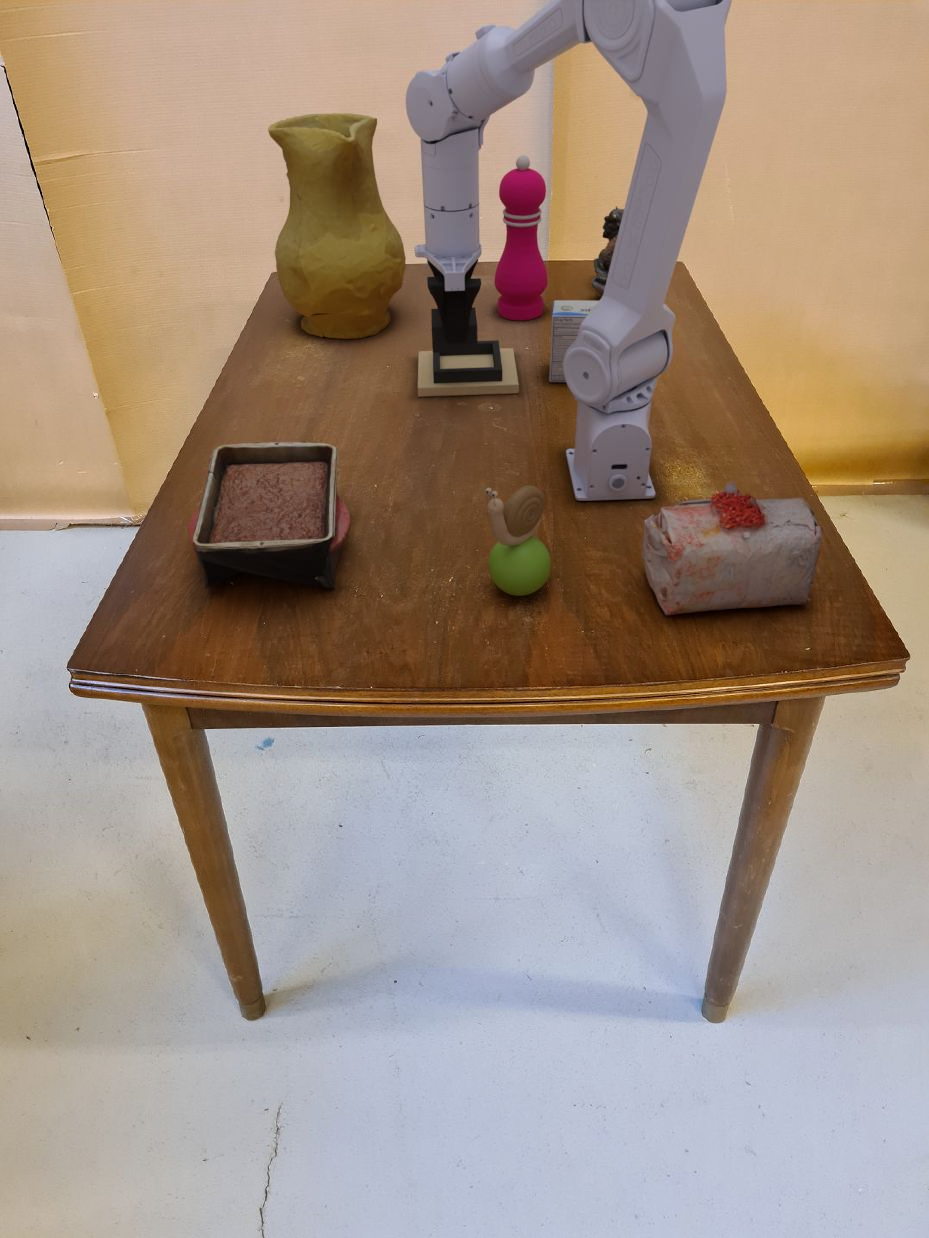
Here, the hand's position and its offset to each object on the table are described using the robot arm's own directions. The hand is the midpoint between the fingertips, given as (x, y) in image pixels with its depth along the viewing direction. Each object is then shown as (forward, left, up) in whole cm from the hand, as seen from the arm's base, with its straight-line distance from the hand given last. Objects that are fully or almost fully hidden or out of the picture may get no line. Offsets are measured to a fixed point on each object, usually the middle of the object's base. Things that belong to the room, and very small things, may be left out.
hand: (455, 330), depth 102 cm
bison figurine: (+31, -23, -9) cm, 40 cm away
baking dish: (-29, +18, -9) cm, 35 cm away
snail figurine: (-36, -4, -9) cm, 37 cm away
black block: (0, 0, -1) cm, 1 cm away
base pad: (+6, -1, -8) cm, 10 cm away
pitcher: (+25, +15, -9) cm, 30 cm away
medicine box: (+5, -15, -9) cm, 18 cm away
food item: (-37, -22, -9) cm, 44 cm away
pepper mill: (+25, -9, -9) cm, 28 cm away
